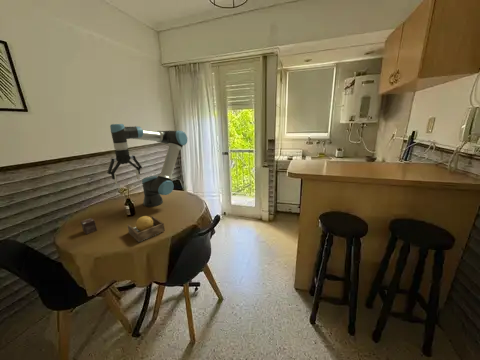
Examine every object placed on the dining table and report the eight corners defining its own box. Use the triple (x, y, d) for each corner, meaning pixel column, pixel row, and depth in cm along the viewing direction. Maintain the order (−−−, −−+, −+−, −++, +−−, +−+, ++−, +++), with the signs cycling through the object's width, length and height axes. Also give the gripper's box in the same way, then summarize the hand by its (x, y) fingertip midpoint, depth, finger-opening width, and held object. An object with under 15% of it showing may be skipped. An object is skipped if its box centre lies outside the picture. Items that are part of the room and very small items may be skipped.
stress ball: (135, 235, 124) (137, 230, 117) (134, 219, 128) (136, 214, 120) (152, 232, 130) (155, 228, 122) (151, 217, 133) (154, 212, 126)
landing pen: (153, 223, 138) (152, 215, 136) (164, 231, 127) (163, 223, 125) (128, 232, 127) (127, 224, 125) (138, 242, 116) (137, 234, 114)
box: (94, 227, 134) (91, 217, 131) (97, 230, 130) (94, 220, 128) (83, 231, 129) (80, 221, 127) (86, 234, 125) (83, 224, 123)
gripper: (139, 146, 139) (144, 176, 145) (96, 151, 121) (104, 184, 128) (144, 147, 134) (148, 178, 140) (100, 152, 116) (107, 187, 123)
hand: (127, 181), depth 134 cm, fingers open, 13 cm apart
